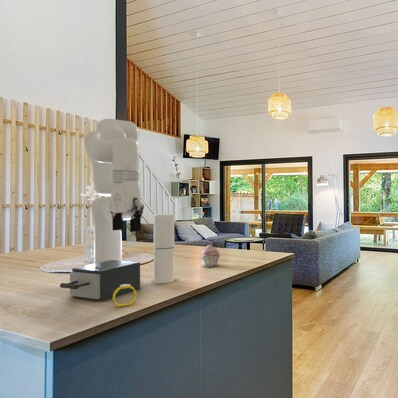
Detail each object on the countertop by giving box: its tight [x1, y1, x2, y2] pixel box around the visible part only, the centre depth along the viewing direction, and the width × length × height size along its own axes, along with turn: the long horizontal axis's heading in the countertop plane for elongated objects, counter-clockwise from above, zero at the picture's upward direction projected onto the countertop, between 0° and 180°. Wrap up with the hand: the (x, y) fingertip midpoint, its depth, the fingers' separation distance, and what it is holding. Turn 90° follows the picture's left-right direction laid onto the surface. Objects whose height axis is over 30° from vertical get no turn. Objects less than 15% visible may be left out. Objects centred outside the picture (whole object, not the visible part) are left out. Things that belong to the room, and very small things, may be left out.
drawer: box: [59, 271, 100, 299], centre depth 103 cm, size 18×11×7 cm, turn 161°
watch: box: [112, 284, 137, 308], centre depth 94 cm, size 6×3×6 cm, turn 130°
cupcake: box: [199, 243, 221, 268], centre depth 147 cm, size 9×9×10 cm
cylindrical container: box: [153, 213, 175, 284], centre depth 121 cm, size 7×7×25 cm
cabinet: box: [71, 260, 141, 302], centre depth 107 cm, size 15×13×9 cm
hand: (126, 230), depth 103 cm, fingers open, 9 cm apart
